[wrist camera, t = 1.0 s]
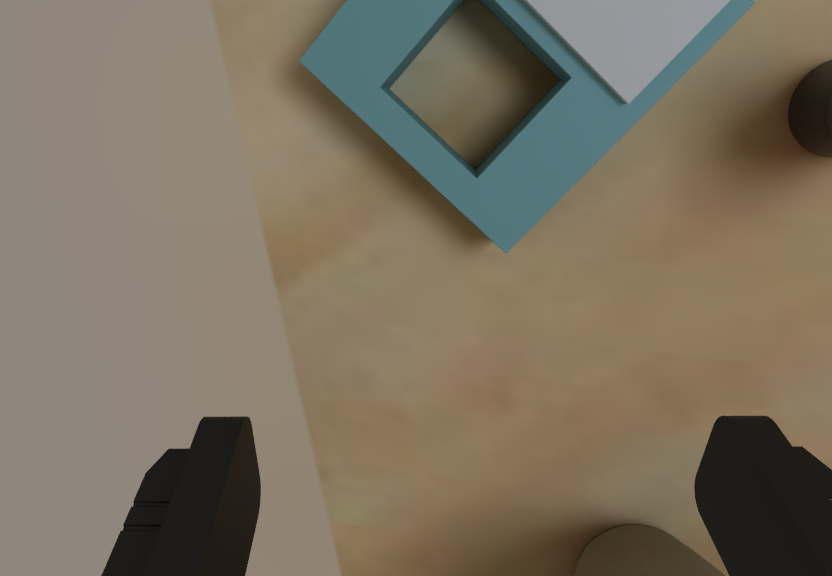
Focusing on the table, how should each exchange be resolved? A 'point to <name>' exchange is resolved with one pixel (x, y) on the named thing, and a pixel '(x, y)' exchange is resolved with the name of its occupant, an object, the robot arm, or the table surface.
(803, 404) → the table surface
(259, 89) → the table surface
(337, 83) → the jig
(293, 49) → the table surface
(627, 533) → the plant pot
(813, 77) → the dark grey cylinder
